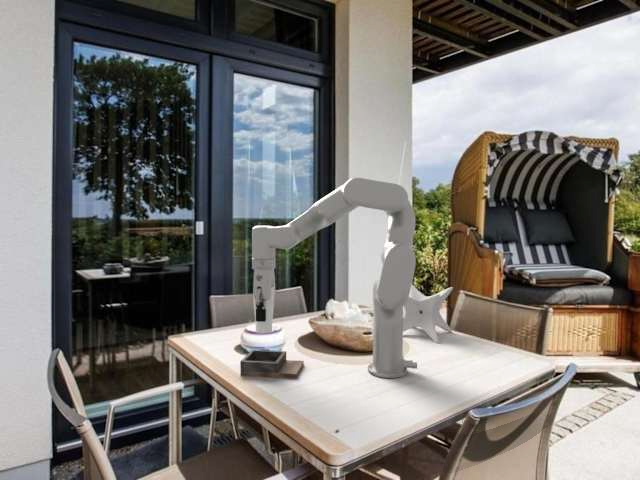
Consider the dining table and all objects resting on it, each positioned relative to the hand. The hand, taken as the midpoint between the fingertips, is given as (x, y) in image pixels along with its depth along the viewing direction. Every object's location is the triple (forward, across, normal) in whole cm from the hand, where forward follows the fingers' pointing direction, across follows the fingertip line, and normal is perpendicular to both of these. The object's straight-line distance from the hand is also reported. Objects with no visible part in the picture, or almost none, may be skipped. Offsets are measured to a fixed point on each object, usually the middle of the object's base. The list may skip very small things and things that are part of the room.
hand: (263, 318), depth 139 cm
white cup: (+5, 0, 0) cm, 5 cm away
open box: (+17, 0, -3) cm, 17 cm away
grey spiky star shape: (+17, +52, -55) cm, 78 cm away
